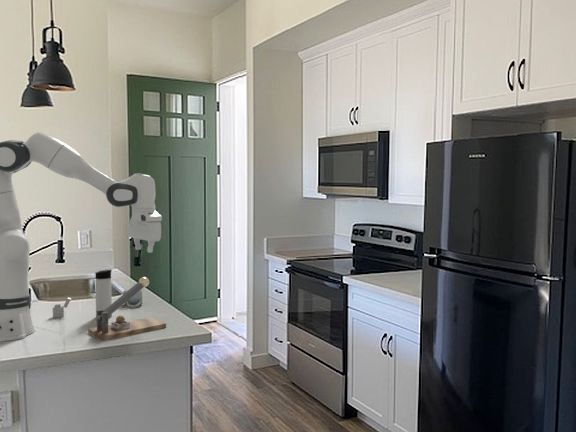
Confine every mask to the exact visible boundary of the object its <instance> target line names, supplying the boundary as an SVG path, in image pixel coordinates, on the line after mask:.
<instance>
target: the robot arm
mask: <svg viewBox="0 0 576 432" xmlns="http://www.w3.org/2000/svg"><path fill="white" fill-rule="evenodd" d="M32 162H35V163H37V164H40V165H42V166H43V167H45V168H47V169H48V170H50V171H52V172H53V173H56V174H58V175H60V176H63V177H65V178H69V179H75V180H79V181H82V182H84V183H87V184H89V185H90V186H92V187H93V188H94V189H97V190H98V191H99V192H102V193H103V194H104V195H105V196H106V199H107V201H108V202H109V204H110V205H111V206H112V207H113V206H114V207H115V208H116V207H117V208H124V207H126V206H131V217H130V219H129V220H128V221H129V222H128V231H127V233H128V237H129V238H132V239H133V242H134V245H135V250H139V251H140V250H142V245H141V242H140V241H141V240H142V241H147V244H148V246H147V247H146V252H147V253H148V254H149V253H150V254H151V253H153V252H154V246H155V244H156V243H155V242H160V241H161V238H162V224H161V222H162V221H163V217H162V215H161V214H159V212H158V211H156V203H155V202H156V201H155V200H156V194H157V193H156V183H155V178H153V176H151V175H148V174H144V173H134V174H132V175H130V176H129V177H128V178H125V179H123V180H115V179H113V178H111V177H109V176H107V175H106V174H104V173H102V172H101V171H100V170H98V169H96V168H94V166H92V165H91V164H90V163H89V162H88V161H87V160H86V159H85V158H84V157H83V156H82V155H81V154H80V153H79V152H77V150H75V149H74V148H73V147H71V146H70V145H68V144H67V143H65V142H63V141H61V140H60V139H58V138H56V137H54V136H52V135H49V134H47V133H44V132H41V131H40V132H35V133H33V134H31V136H29V138H28V139H27V140H26V141H25V142H24V141H21V140H16V139H15V140H14V139H9V140H5V141H1V142H0V342H5V341H7V342H8V341H14V340H23V339H24V338H25V337H27V336H29V335H31V334H33V333H34V332H36V331H35V328H34V325H33V321H32V314H31V305H32V303H31V302H32V301H31V300H32V299H31V294H30V292H29V291H30V290H29V287H30V285H29V284H30V283H29V270H30V269H29V267H30V241H29V239H28V237H27V236H26V235H25V233H24V230H23V226H22V225H23V224H22V219H21V215H20V209H19V206H18V200H17V198H16V194H15V189H14V185H13V182H12V176H13V174H15V173H18V172H20V171H21V170H24V169H25V168H27V167H28V166H30V165H31V163H32Z"/></svg>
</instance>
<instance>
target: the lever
mask: <svg viewBox="0 0 576 432" xmlns="http://www.w3.org/2000/svg"><path fill="white" fill-rule="evenodd" d="M149 284H150V280H149V278H148V277H146V276H143V277H141V278H139V280H138V282H137V283H135V284H134V285H133V286H132V287H131V288H128V289H129V290H128V291H127V292H126V293H125V294H122V295H121V296H120V297H118V298H117V299H115V301H114V302H113V303H112V304H111V305H110V306H109V307H108V308H106V309H105V310H104V311H103V312H108V317H109V316H110V315H111V314H112V315H113V313H115V312H116V311H117V310H119V309H120V308H121V307H122V306H123V305H125V304H124V303H125V302H127V301H128V300H129V299H130V298H131V297H133V296H134V295H135V294H136V293H137V292H138V291H140V290H141V289H144V288H147V287H148V286H149ZM103 312H102V313H103ZM97 318H98V320H99V321H101V322H102V314H101V313H100V314H99V315H98V316H97ZM97 318H96V319H97Z"/></svg>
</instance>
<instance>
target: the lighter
mask: <svg viewBox="0 0 576 432" xmlns="http://www.w3.org/2000/svg"><path fill="white" fill-rule="evenodd" d="M71 301H72V298H71V297H67V299H66V300H65V303H64V304H63V305H61V303H59V304H54V306H52V318H53V319H55V318H56V319H57V318H64V317H65V314H64V313H65V311H64V308H65V309H67V307H68V306H69V304H70V302H71Z"/></svg>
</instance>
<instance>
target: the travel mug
mask: <svg viewBox="0 0 576 432" xmlns="http://www.w3.org/2000/svg"><path fill="white" fill-rule="evenodd" d="M94 277H95V281H94V282H95V286H94V287H95V317H96V319H97V310H103V311H104V310H105V309H106V308H108V307H109V306H110V305H111V304H112V300H113V299H112V296H113V295H112V269H106V270H104V269H103V270H98V271H96V272H95V276H94ZM112 316H113V313H112V314H111V315H110V316H109V317H108V319H110V318H112Z"/></svg>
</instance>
